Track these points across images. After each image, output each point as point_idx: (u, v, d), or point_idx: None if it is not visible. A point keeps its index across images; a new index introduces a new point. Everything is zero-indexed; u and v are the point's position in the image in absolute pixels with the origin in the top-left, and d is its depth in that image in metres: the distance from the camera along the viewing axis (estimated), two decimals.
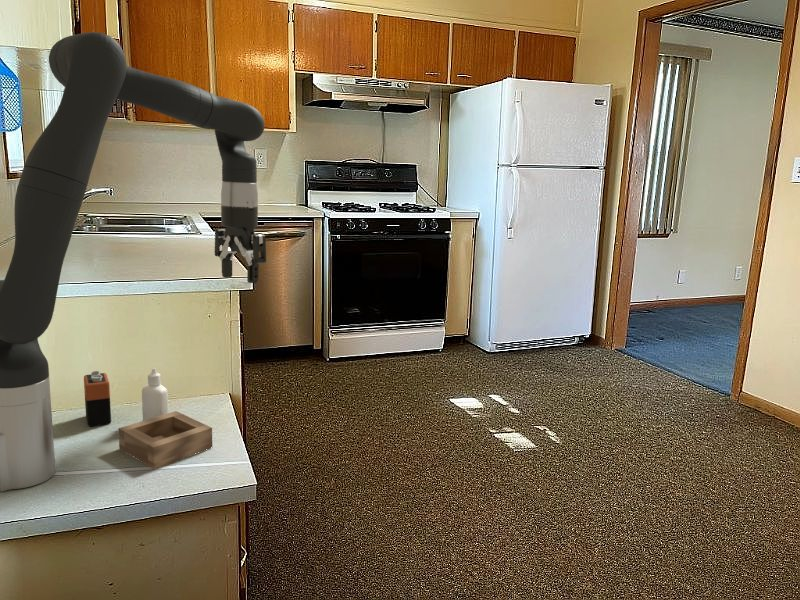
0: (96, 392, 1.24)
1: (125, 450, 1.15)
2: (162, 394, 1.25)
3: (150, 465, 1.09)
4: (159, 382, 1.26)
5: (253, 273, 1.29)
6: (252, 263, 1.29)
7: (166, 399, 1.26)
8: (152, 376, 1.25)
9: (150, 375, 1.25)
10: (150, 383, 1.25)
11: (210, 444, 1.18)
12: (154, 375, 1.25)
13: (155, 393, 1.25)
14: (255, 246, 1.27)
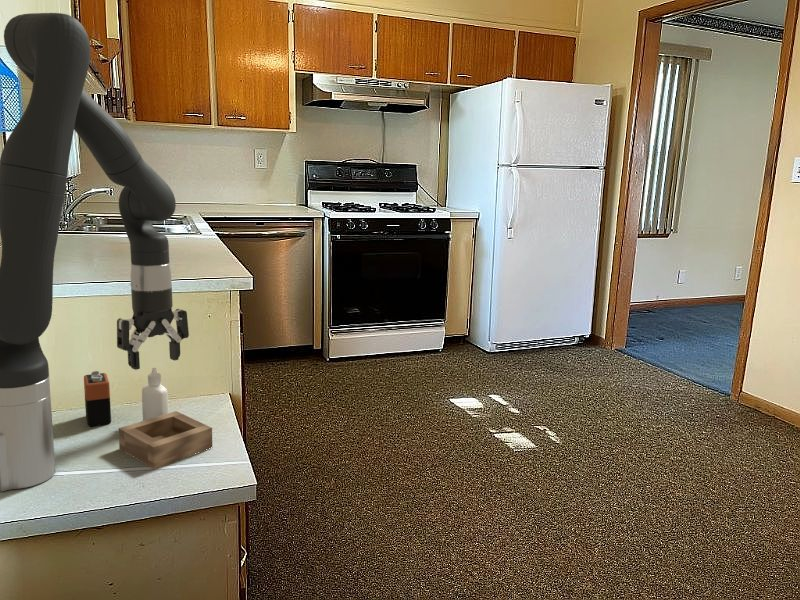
0: (96, 392, 1.24)
1: (125, 450, 1.15)
2: (162, 394, 1.25)
3: (150, 465, 1.09)
4: (159, 382, 1.26)
5: (179, 349, 1.29)
6: None
7: (166, 399, 1.26)
8: (152, 376, 1.25)
9: (150, 375, 1.25)
10: (150, 383, 1.25)
11: (210, 444, 1.18)
12: (154, 375, 1.25)
13: (155, 393, 1.25)
14: (185, 321, 1.28)
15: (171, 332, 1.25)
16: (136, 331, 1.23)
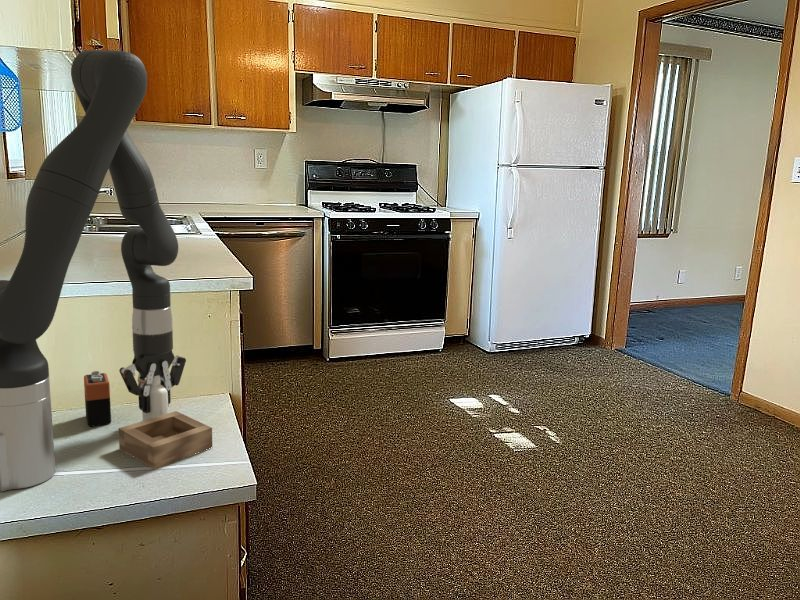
0: (96, 392, 1.24)
1: (125, 450, 1.15)
2: (162, 394, 1.25)
3: (150, 465, 1.09)
4: (159, 382, 1.26)
5: (169, 396, 1.29)
6: None
7: (166, 399, 1.26)
8: None
9: None
10: None
11: (210, 444, 1.18)
12: None
13: (155, 393, 1.25)
14: (181, 368, 1.30)
15: (166, 377, 1.26)
16: (141, 374, 1.25)
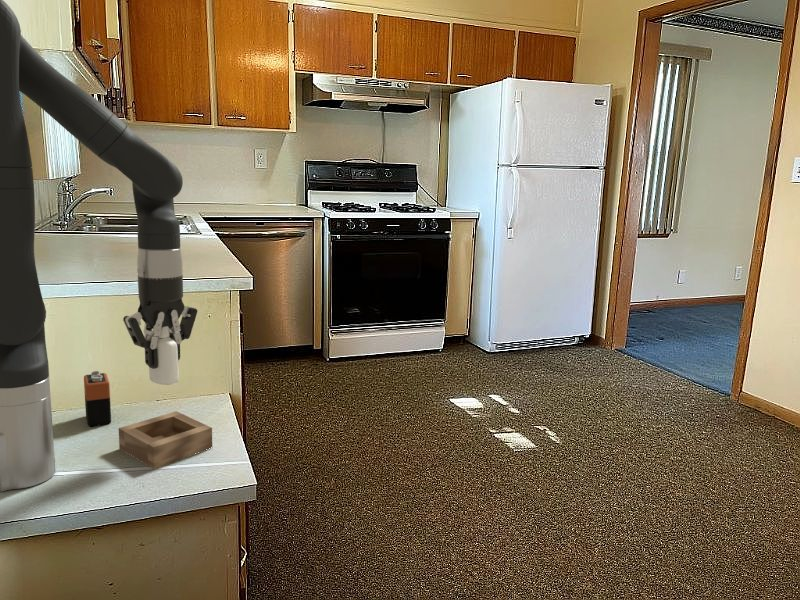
0: (96, 392, 1.24)
1: (125, 450, 1.15)
2: (171, 347, 1.11)
3: (150, 465, 1.09)
4: (167, 334, 1.12)
5: (179, 351, 1.15)
6: None
7: (176, 353, 1.12)
8: None
9: None
10: None
11: (210, 444, 1.18)
12: None
13: (163, 345, 1.11)
14: (192, 320, 1.16)
15: (175, 328, 1.13)
16: (147, 325, 1.11)
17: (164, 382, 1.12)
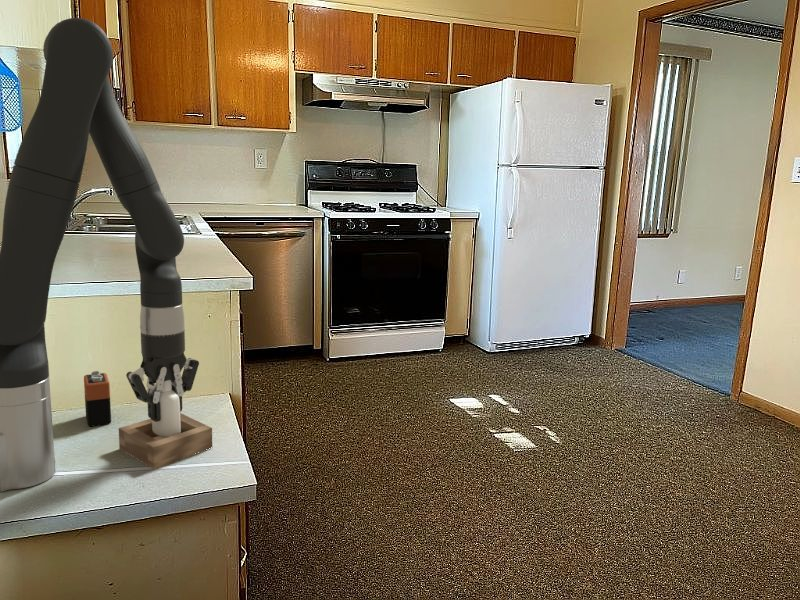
0: (96, 392, 1.24)
1: (125, 450, 1.15)
2: (174, 401, 1.13)
3: (150, 465, 1.09)
4: (170, 388, 1.14)
5: (181, 403, 1.17)
6: None
7: (178, 406, 1.14)
8: None
9: None
10: None
11: (210, 444, 1.18)
12: None
13: (165, 399, 1.13)
14: (194, 372, 1.18)
15: (177, 381, 1.15)
16: (150, 379, 1.13)
17: (166, 435, 1.14)
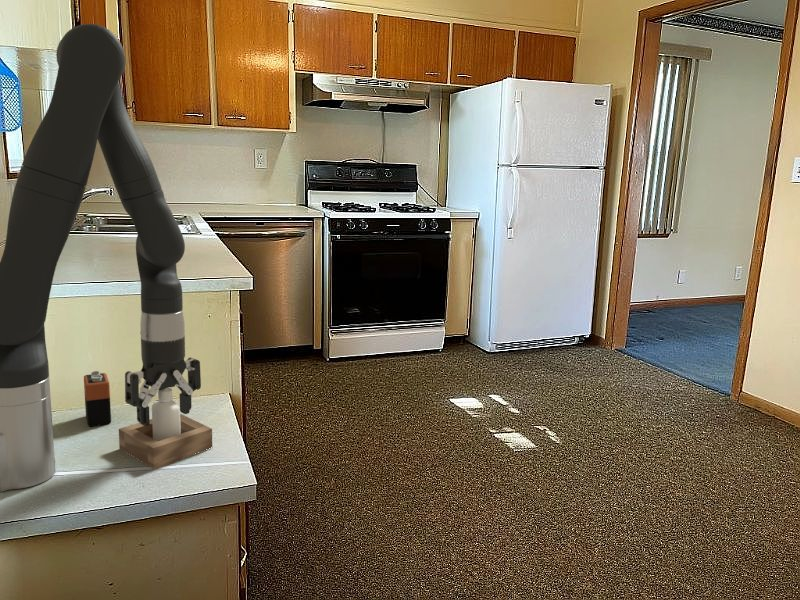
0: (96, 392, 1.24)
1: (125, 451, 1.15)
2: (174, 412, 1.14)
3: (150, 466, 1.09)
4: (170, 398, 1.15)
5: (190, 401, 1.19)
6: None
7: (178, 417, 1.15)
8: (163, 392, 1.14)
9: (161, 391, 1.14)
10: (161, 399, 1.14)
11: (210, 445, 1.18)
12: (165, 391, 1.14)
13: (166, 410, 1.14)
14: (198, 371, 1.19)
15: (183, 384, 1.16)
16: (146, 384, 1.13)
17: None
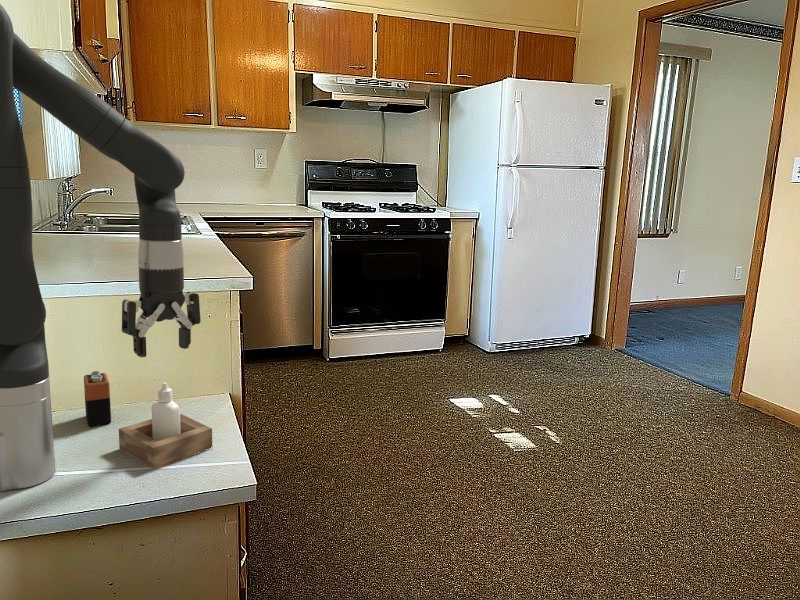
0: (96, 392, 1.24)
1: (125, 451, 1.15)
2: (174, 412, 1.14)
3: (150, 465, 1.09)
4: (170, 398, 1.15)
5: (189, 336, 1.17)
6: None
7: (178, 417, 1.15)
8: (163, 392, 1.14)
9: (160, 390, 1.14)
10: (160, 399, 1.14)
11: (210, 445, 1.18)
12: (165, 390, 1.14)
13: (166, 410, 1.14)
14: (197, 305, 1.16)
15: (181, 317, 1.13)
16: (143, 315, 1.10)
17: None
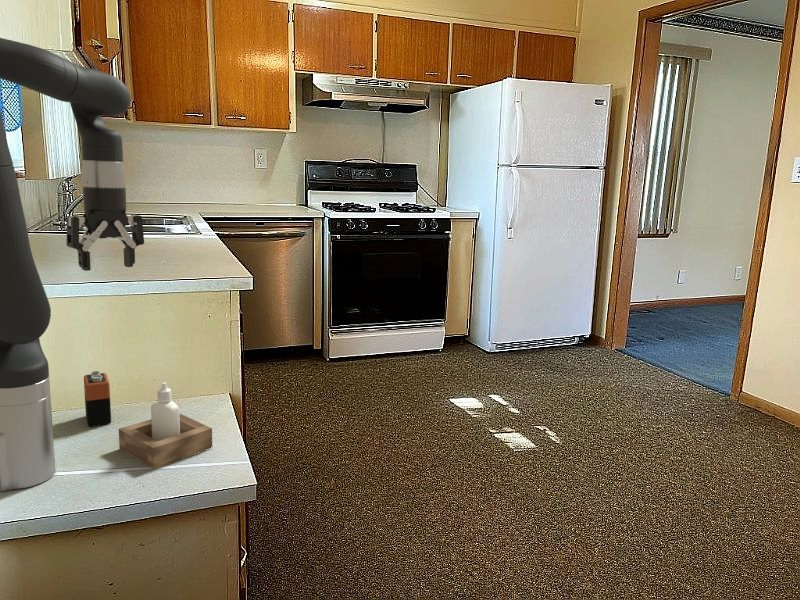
0: (96, 392, 1.24)
1: (125, 451, 1.15)
2: (173, 412, 1.14)
3: (150, 465, 1.09)
4: (170, 398, 1.15)
5: (134, 256, 1.25)
6: None
7: (177, 417, 1.15)
8: (162, 392, 1.14)
9: (160, 391, 1.14)
10: (160, 399, 1.14)
11: (210, 445, 1.18)
12: (164, 391, 1.14)
13: (165, 410, 1.13)
14: (140, 226, 1.25)
15: (125, 236, 1.22)
16: (88, 232, 1.19)
17: None
